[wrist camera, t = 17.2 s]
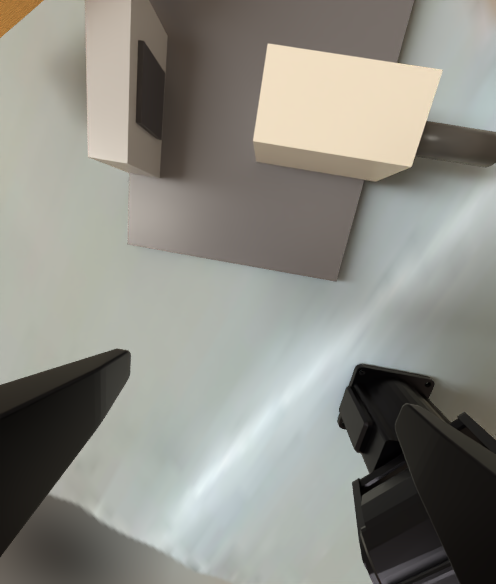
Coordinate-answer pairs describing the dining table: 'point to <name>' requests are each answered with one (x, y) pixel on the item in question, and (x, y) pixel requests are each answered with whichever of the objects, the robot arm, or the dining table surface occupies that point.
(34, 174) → the dining table surface
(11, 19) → the copper metal plate
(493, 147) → the plug
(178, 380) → the dining table surface
